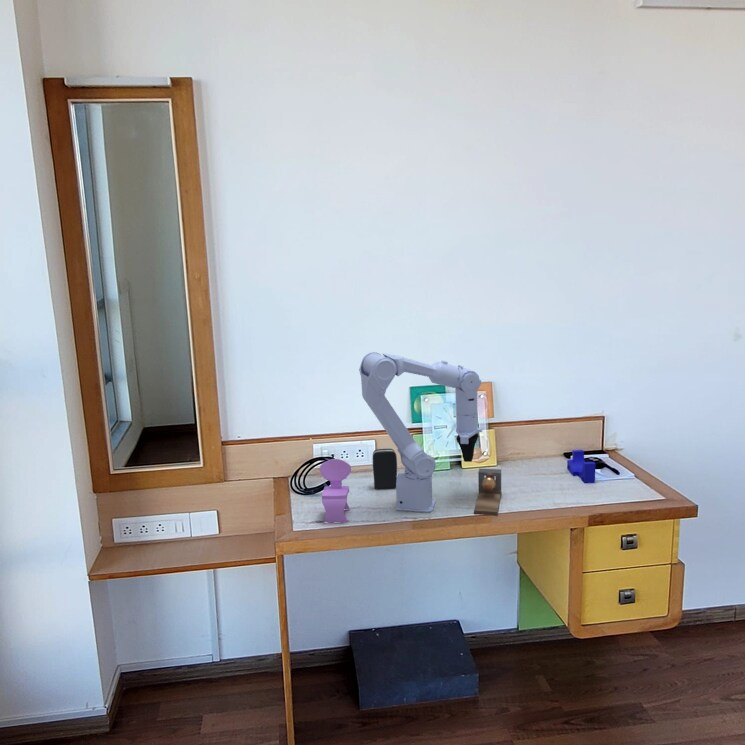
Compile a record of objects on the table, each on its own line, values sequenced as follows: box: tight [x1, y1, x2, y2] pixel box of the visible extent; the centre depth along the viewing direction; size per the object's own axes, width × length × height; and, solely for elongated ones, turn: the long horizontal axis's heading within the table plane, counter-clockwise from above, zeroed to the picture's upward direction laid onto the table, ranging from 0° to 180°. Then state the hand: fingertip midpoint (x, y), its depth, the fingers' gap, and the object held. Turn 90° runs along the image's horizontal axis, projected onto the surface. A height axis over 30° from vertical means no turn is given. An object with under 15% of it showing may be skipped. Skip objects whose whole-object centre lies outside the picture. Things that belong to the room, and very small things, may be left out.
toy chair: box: [318, 458, 352, 523], centre depth 182 cm, size 8×9×15 cm
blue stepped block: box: [566, 449, 596, 484], centre depth 204 cm, size 12×4×6 cm, turn 1°
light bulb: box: [482, 476, 496, 492], centre depth 193 cm, size 10×4×4 cm, turn 166°
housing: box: [477, 468, 502, 495], centre depth 193 cm, size 3×6×6 cm, turn 76°
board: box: [473, 492, 502, 516], centre depth 188 cm, size 15×6×1 cm, turn 166°
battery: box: [372, 448, 398, 490], centre depth 201 cm, size 7×4×11 cm, turn 93°
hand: (468, 460), depth 191 cm, fingers closed
